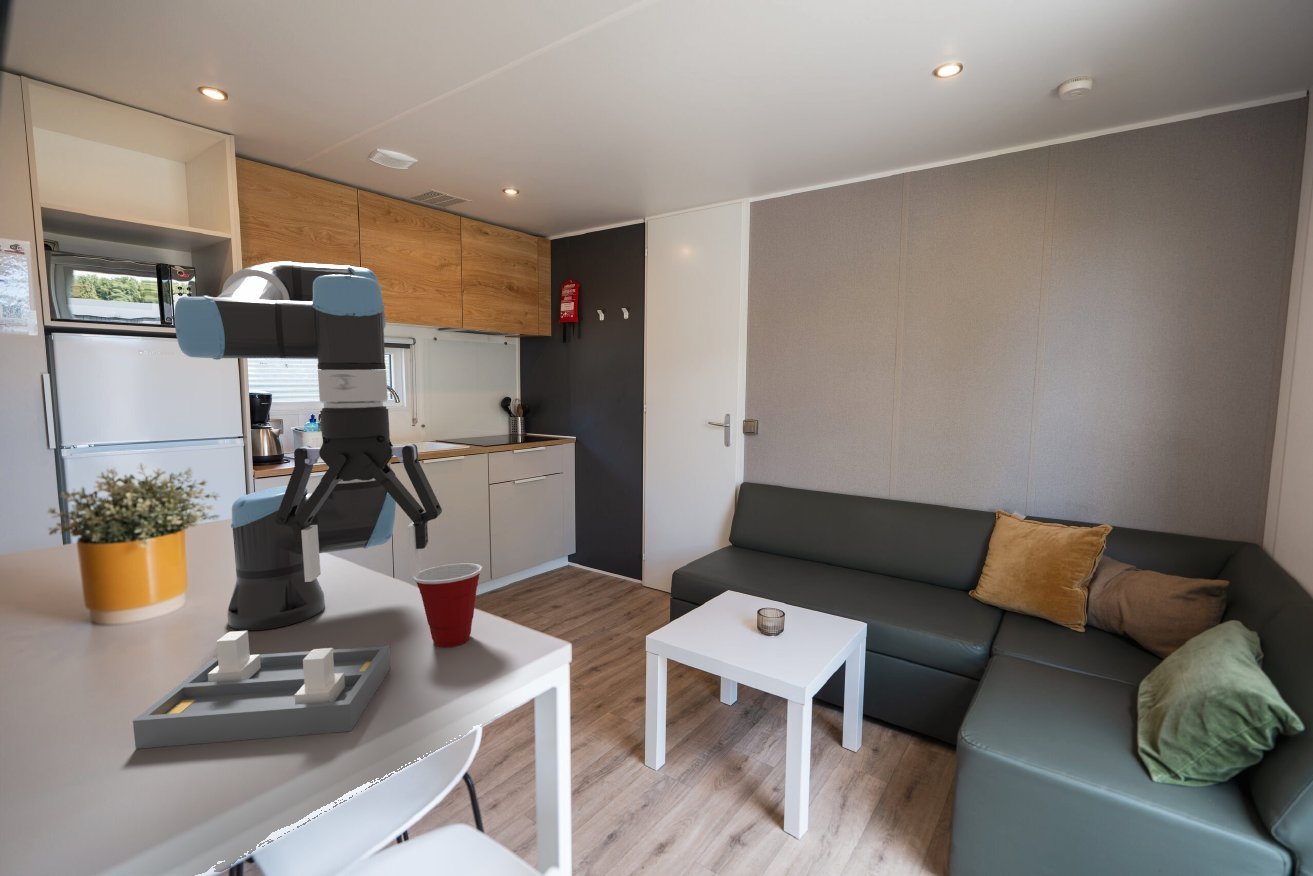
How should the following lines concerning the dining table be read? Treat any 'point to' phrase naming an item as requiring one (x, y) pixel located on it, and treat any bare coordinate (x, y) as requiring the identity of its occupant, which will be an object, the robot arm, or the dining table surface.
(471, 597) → the plastic cup
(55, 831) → the dining table surface
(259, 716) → the grey divided tray
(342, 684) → the tab
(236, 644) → the tab
